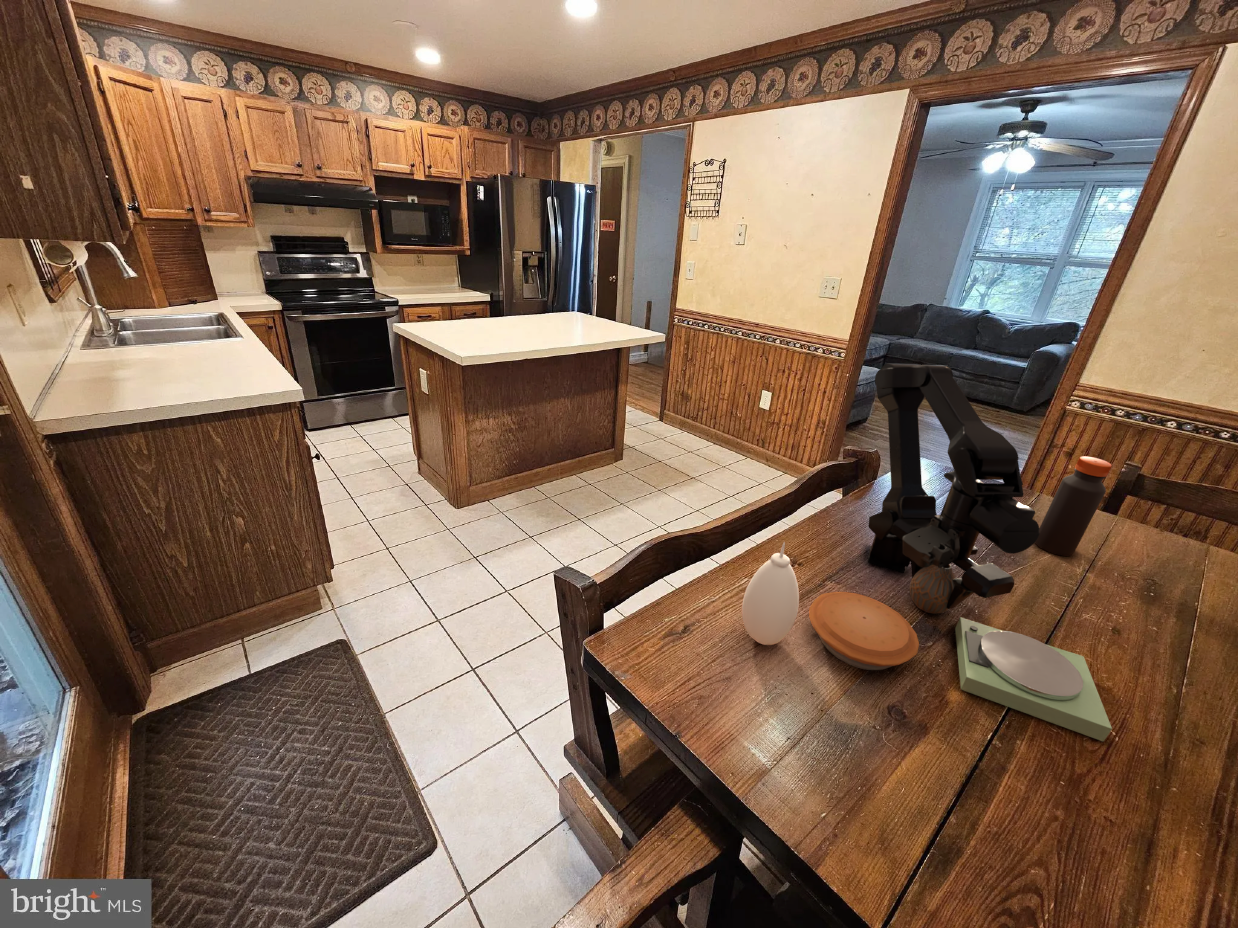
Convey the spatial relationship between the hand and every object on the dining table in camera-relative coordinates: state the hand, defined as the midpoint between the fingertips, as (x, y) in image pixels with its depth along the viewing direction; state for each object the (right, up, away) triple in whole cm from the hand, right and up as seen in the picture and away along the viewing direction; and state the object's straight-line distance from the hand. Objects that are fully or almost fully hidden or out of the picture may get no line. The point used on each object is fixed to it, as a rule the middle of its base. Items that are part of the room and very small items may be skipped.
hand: (931, 594), depth 88 cm
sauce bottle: (-31, -5, -8) cm, 33 cm away
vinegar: (+38, +5, +20) cm, 43 cm away
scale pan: (+5, -7, -14) cm, 16 cm away
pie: (-16, -6, -8) cm, 19 cm away
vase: (0, -2, +1) cm, 3 cm away
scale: (+5, -9, -13) cm, 17 cm away
